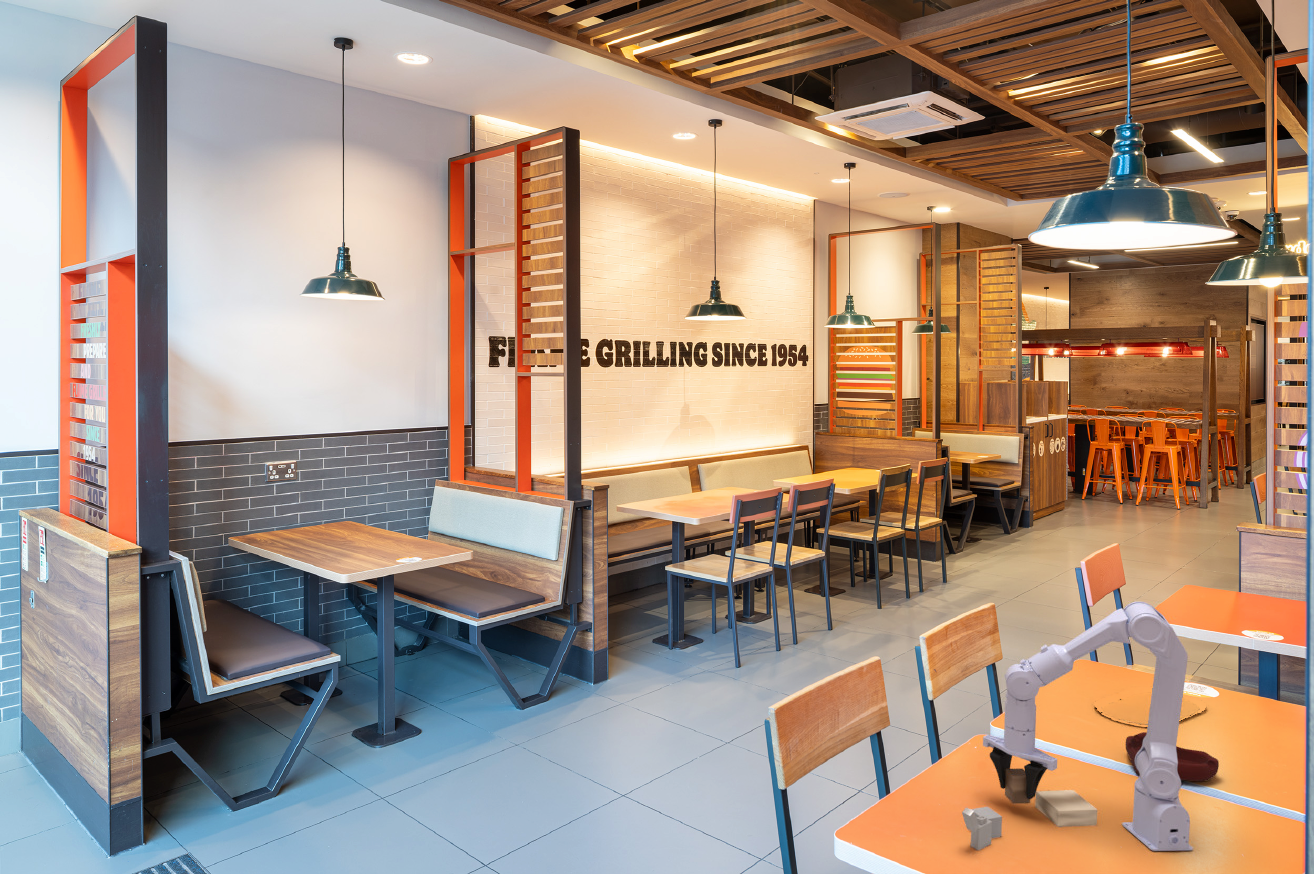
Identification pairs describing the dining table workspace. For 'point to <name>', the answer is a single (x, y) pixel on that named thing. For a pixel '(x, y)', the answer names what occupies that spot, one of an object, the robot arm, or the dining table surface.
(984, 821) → the lighter
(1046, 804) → the birch block
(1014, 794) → the walnut block
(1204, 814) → the dining table surface
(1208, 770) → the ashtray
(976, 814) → the grey block
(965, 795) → the dining table surface
